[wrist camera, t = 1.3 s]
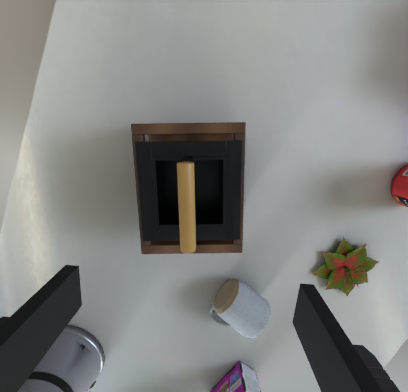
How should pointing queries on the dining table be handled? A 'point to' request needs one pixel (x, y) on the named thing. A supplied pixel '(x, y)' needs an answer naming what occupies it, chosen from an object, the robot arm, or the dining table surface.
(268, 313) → the ceramic mug
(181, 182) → the black boxy container
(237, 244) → the open wooden box
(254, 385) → the candy bar box
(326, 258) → the lily flower
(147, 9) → the dining table surface
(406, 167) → the canned food
